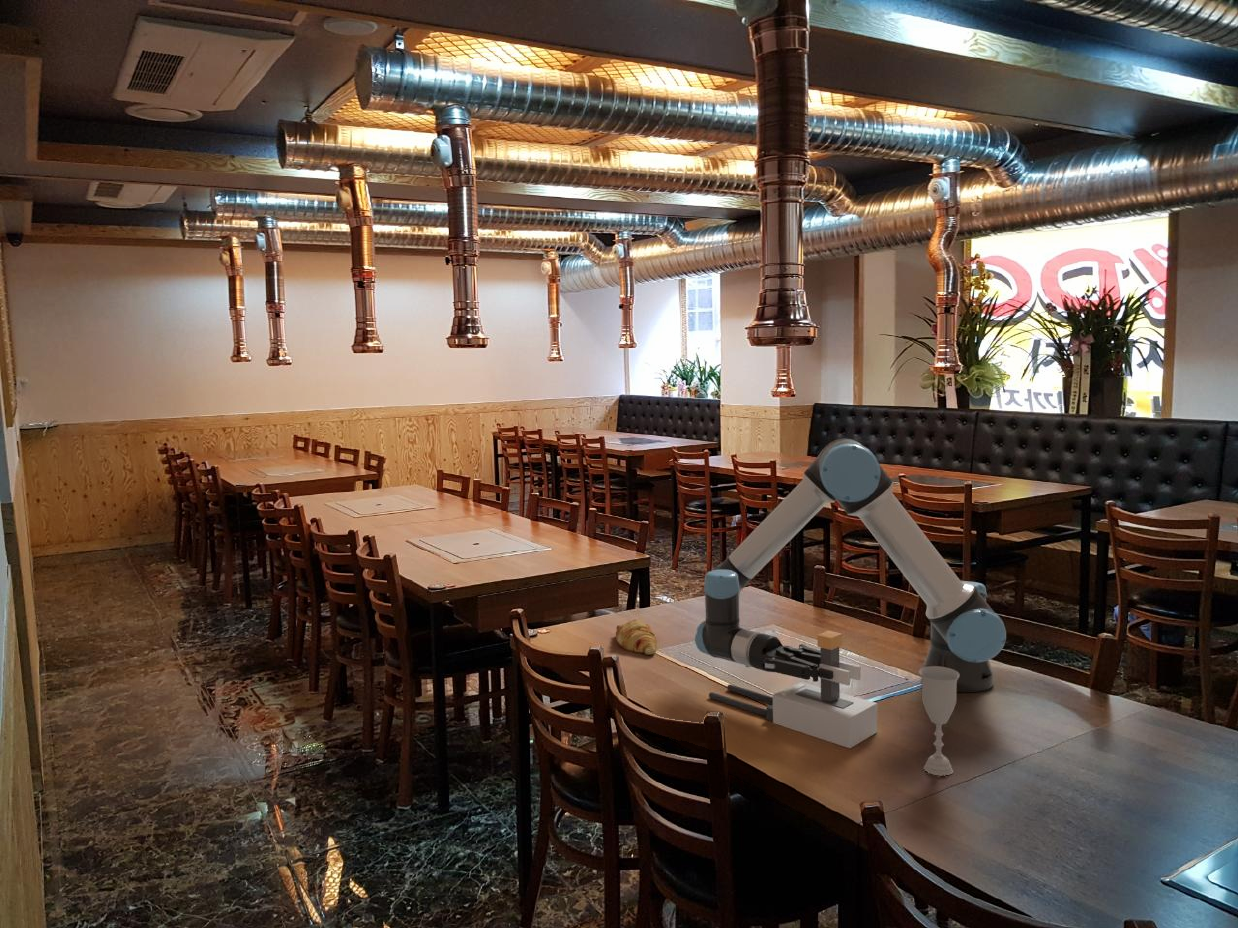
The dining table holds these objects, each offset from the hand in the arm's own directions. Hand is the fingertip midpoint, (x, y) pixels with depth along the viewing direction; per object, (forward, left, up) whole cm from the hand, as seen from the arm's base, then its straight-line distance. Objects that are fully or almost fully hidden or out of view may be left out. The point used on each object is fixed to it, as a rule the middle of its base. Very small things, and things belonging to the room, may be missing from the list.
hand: (854, 675), depth 171 cm
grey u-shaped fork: (+19, -16, -13) cm, 28 cm away
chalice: (-13, +14, -13) cm, 23 cm away
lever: (+4, -4, -6) cm, 8 cm away
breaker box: (+5, -4, -13) cm, 14 cm away
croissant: (+49, -56, -13) cm, 75 cm away
